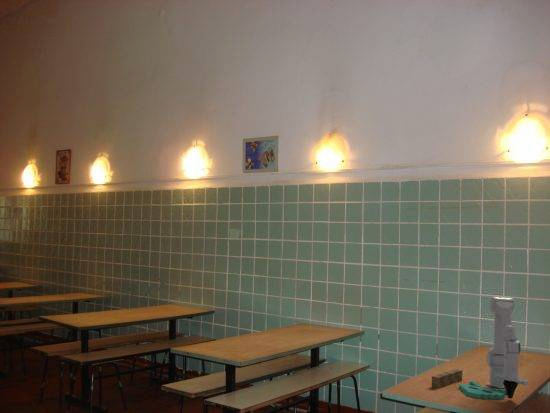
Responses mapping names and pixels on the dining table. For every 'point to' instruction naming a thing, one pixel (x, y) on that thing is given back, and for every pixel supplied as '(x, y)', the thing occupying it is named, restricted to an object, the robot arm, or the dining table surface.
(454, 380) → the walnut board
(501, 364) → the robot arm
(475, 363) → the dining table surface
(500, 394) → the alien figure
